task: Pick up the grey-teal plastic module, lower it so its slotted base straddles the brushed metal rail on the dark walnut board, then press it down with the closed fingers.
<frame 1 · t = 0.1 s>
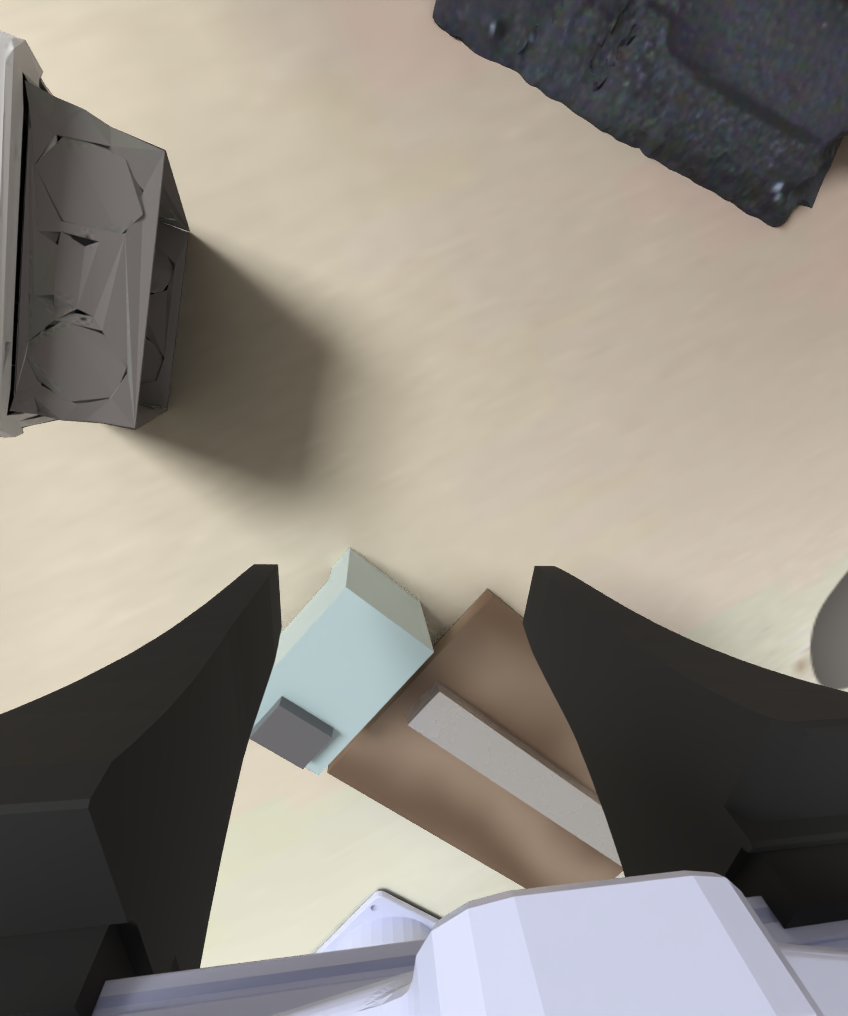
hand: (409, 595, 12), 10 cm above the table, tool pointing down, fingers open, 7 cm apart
electrical switch: (156, 313, 19), on the table
module: (338, 627, 23), on the table
rail board: (532, 764, 27), on the table
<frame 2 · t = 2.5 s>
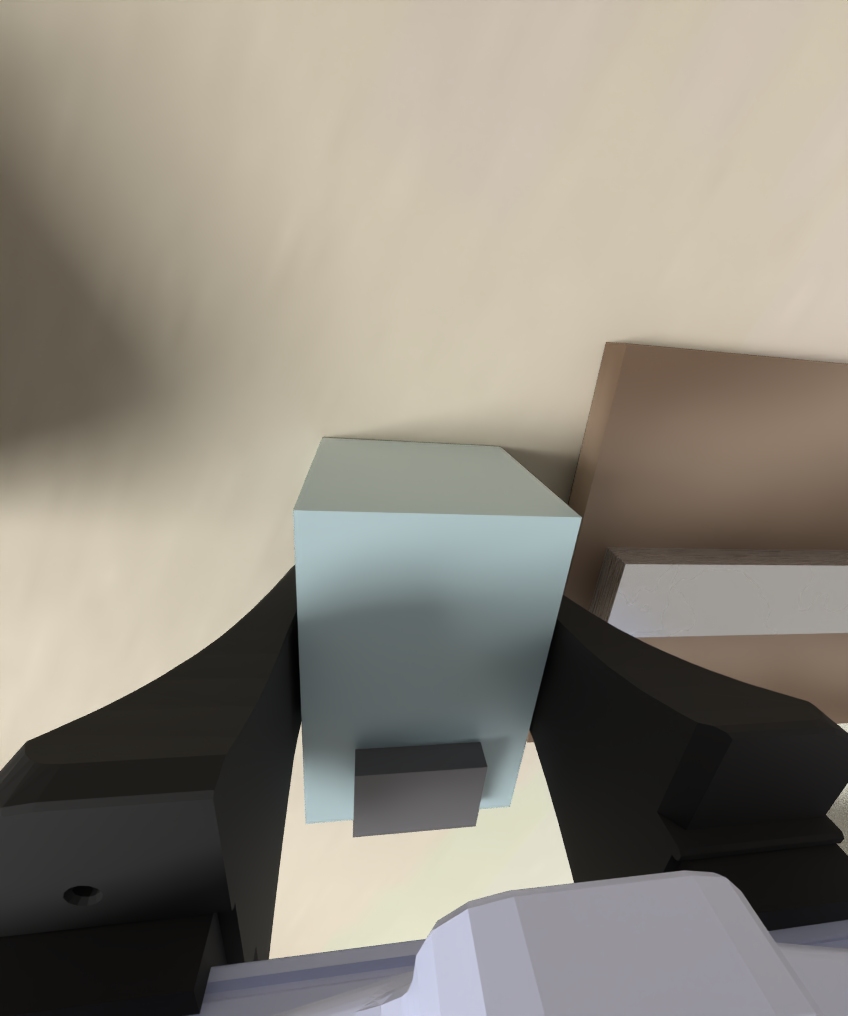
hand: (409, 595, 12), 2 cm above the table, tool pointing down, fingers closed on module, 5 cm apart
module: (404, 566, 13), on the table, touching gripper
rail board: (831, 568, 16), on the table
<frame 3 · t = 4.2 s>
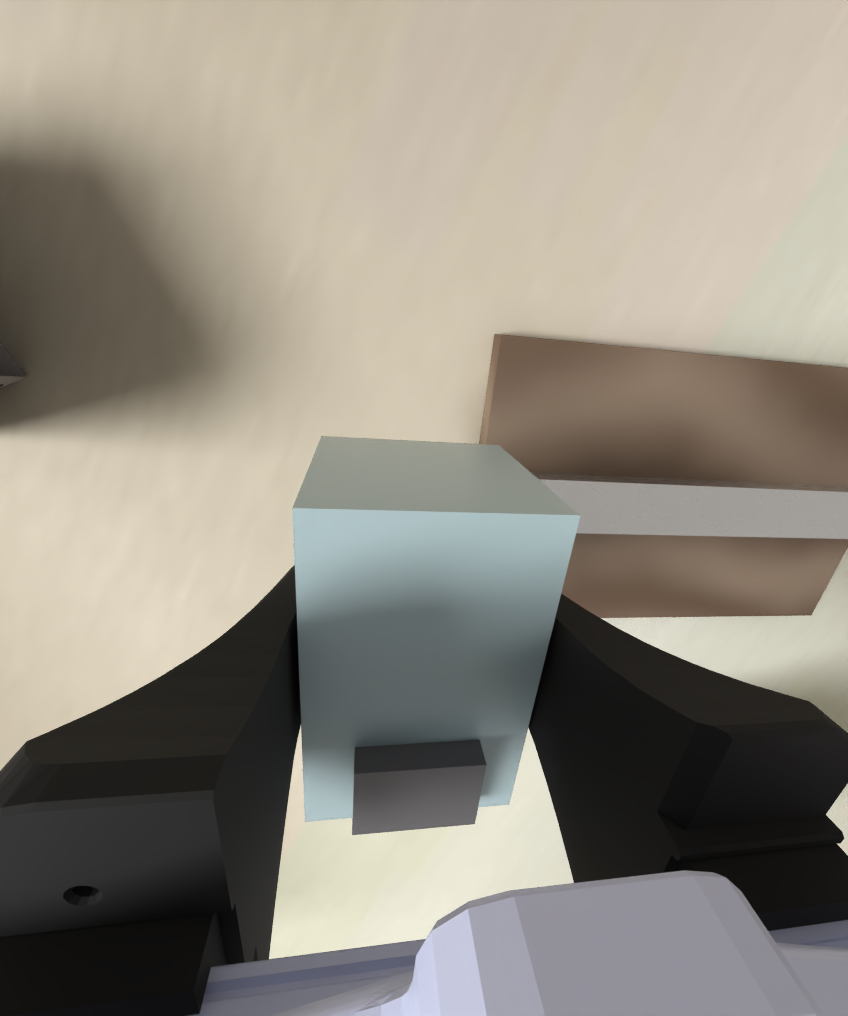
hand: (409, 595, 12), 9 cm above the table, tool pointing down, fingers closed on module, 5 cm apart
module: (403, 564, 13), point 7 cm above the table, touching gripper
rail board: (674, 496, 22), on the table
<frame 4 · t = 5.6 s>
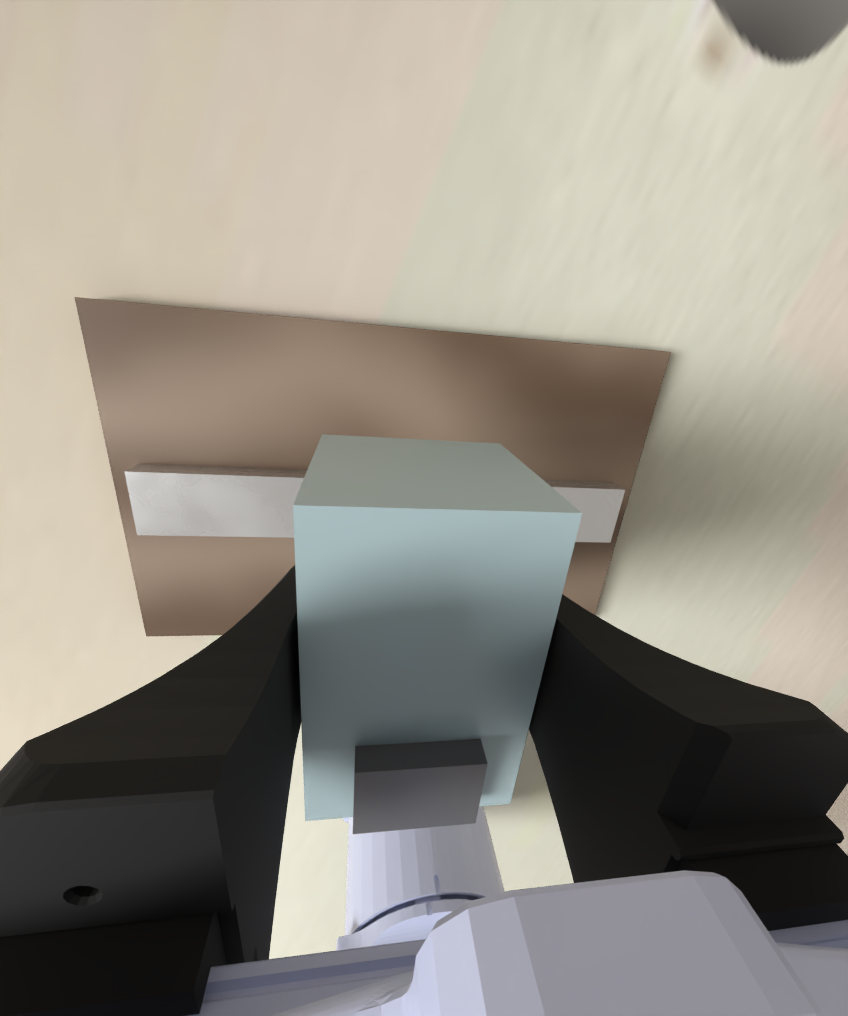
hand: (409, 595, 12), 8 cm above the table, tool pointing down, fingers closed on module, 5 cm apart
module: (404, 563, 13), point 6 cm above the table, touching gripper
rail board: (392, 493, 19), on the table
when the fingers open (4 cm above the table, at t = 7.2 s): module stays where it is, resting on rail board.
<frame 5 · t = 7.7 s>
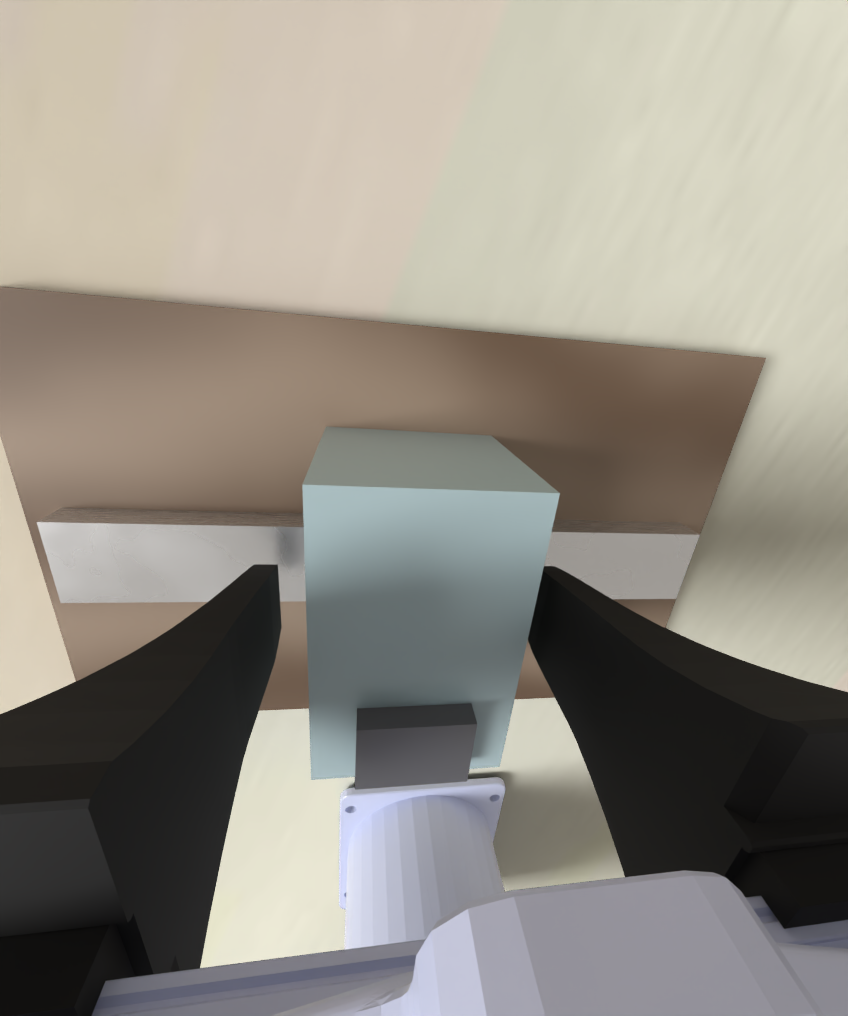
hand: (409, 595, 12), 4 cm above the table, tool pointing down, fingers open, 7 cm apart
module: (402, 548, 14), point 1 cm above the table, touching rail board
rail board: (399, 537, 15), on the table
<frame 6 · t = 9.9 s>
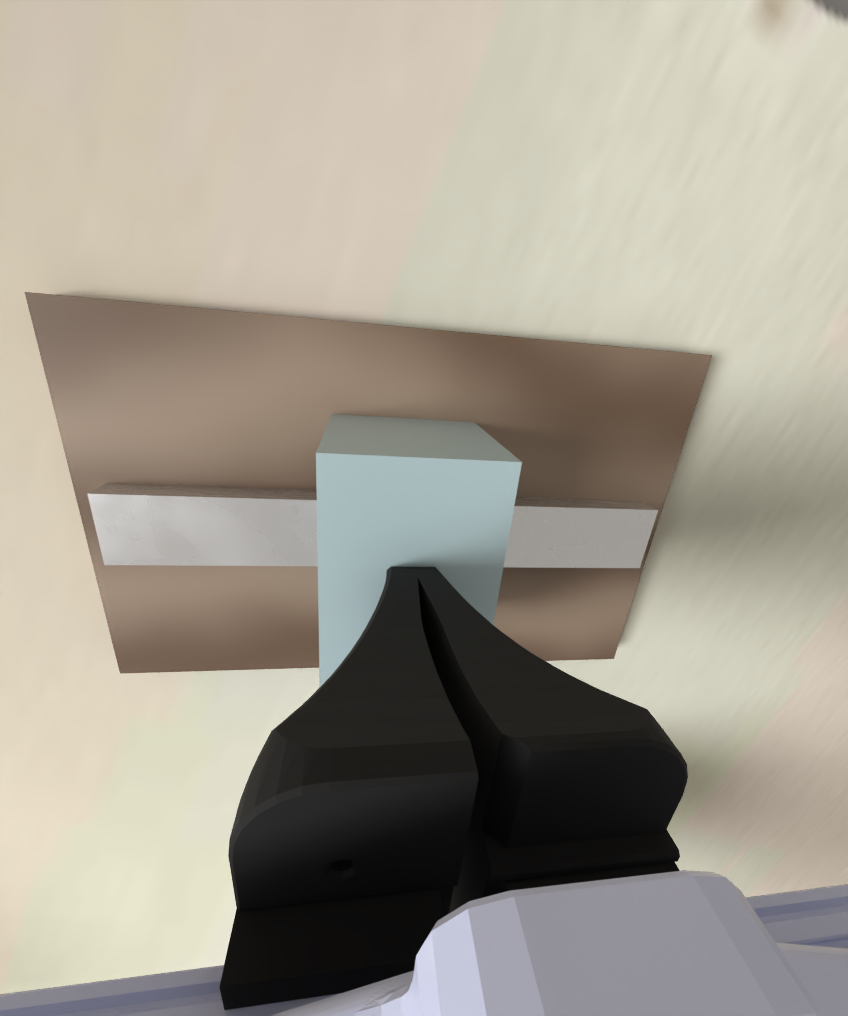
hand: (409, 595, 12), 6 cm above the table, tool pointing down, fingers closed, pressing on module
module: (398, 522, 16), point 1 cm above the table, touching gripper, rail board
rail board: (395, 513, 17), on the table
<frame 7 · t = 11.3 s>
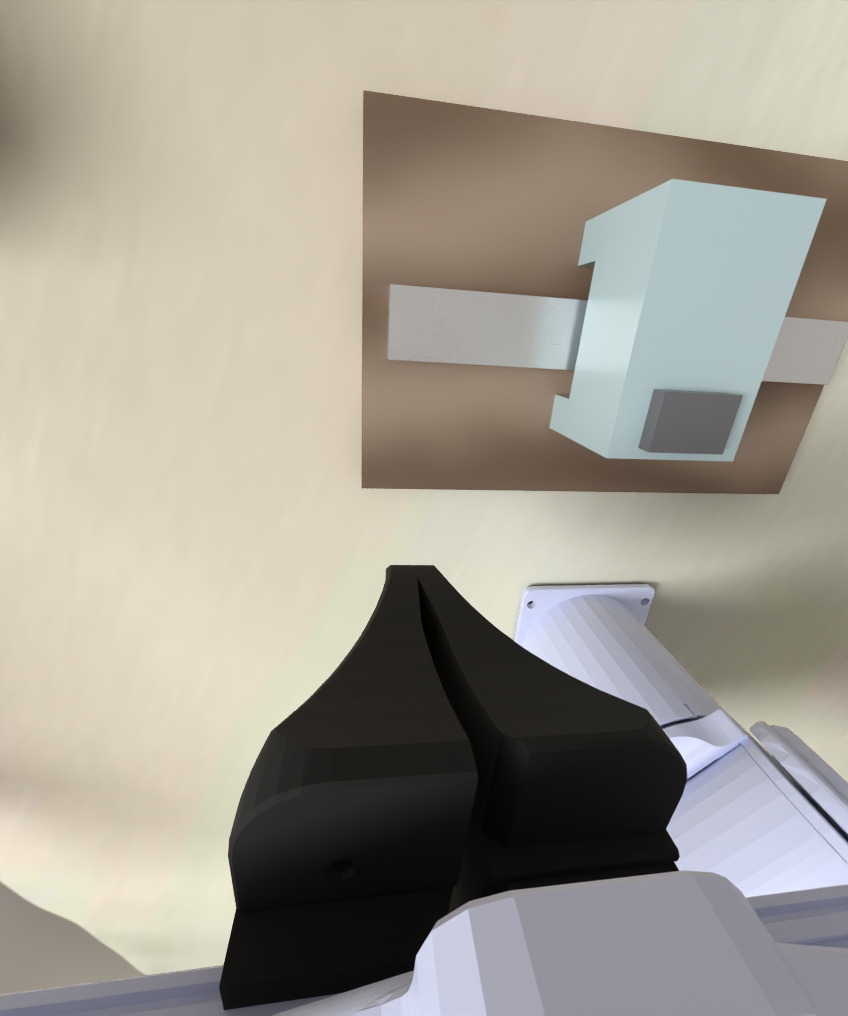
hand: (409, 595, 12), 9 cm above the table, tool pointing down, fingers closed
module: (620, 337, 18), point 1 cm above the table, touching rail board
rail board: (607, 339, 19), on the table
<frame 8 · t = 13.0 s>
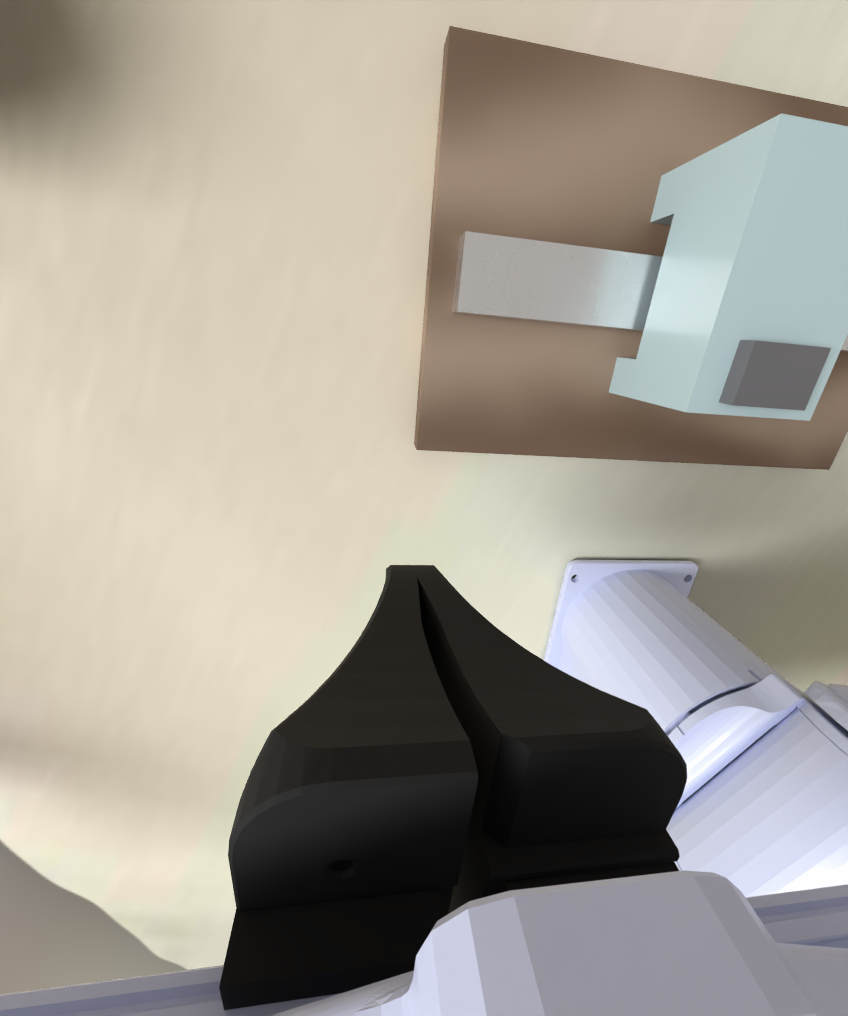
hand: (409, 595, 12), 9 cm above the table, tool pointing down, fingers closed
module: (686, 299, 18), point 1 cm above the table, touching rail board
rail board: (670, 303, 19), on the table
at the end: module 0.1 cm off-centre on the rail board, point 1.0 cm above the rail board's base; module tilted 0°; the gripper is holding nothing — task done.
